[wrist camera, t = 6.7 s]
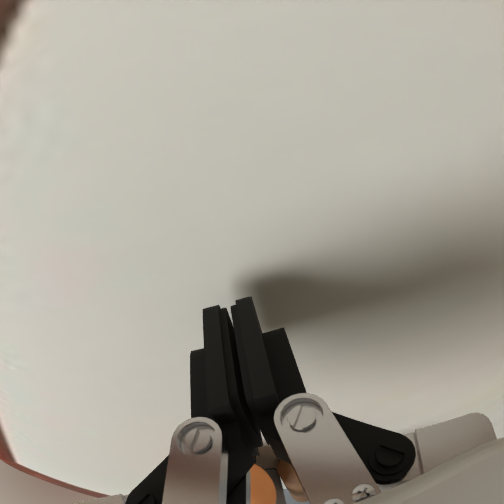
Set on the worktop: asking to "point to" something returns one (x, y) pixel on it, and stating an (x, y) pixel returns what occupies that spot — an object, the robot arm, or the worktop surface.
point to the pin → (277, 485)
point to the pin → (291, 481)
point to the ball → (261, 487)
